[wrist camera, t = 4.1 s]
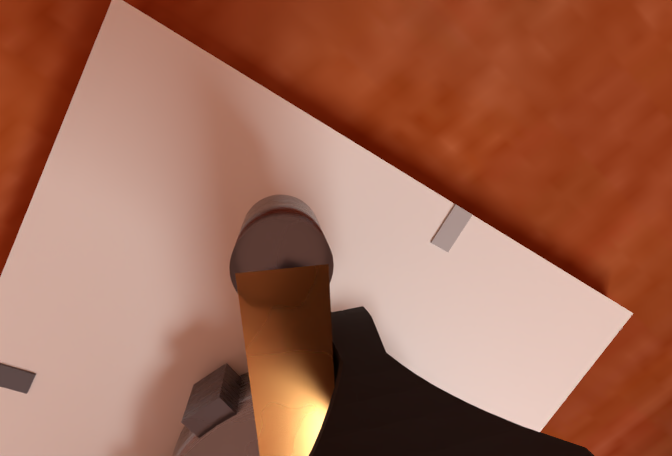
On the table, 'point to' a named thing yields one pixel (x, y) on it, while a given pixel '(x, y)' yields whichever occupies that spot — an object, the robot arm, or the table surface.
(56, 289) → the base plate
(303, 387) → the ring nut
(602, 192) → the table surface
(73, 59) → the table surface
